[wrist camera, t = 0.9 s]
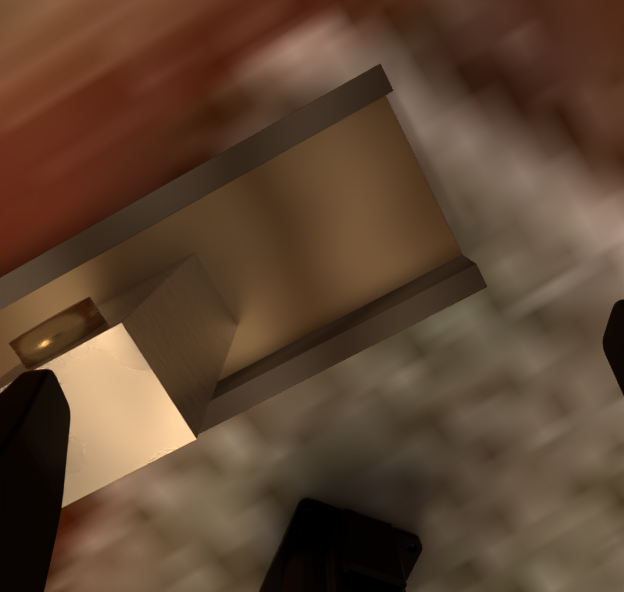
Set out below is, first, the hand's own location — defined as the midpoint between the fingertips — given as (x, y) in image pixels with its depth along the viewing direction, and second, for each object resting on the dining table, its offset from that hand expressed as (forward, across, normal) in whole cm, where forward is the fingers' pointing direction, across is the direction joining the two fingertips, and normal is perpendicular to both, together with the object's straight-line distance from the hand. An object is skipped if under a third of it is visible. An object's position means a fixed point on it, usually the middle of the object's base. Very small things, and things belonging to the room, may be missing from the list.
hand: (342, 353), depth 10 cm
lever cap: (+13, +6, +9) cm, 17 cm away
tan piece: (+15, +6, +10) cm, 18 cm away
